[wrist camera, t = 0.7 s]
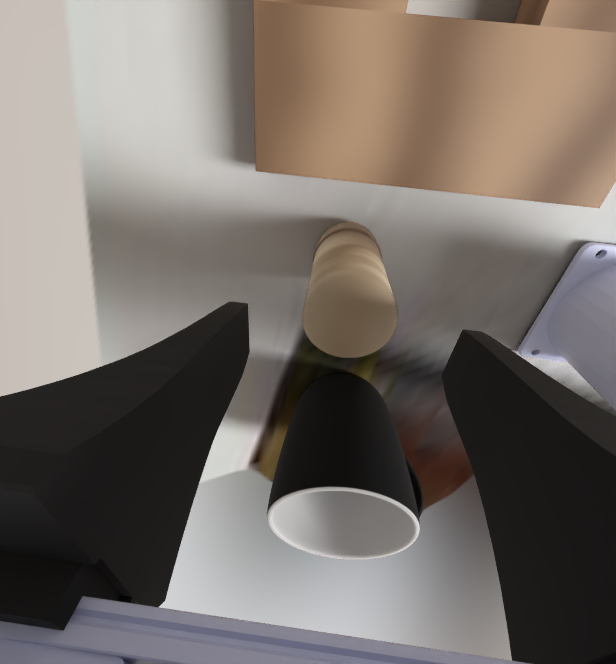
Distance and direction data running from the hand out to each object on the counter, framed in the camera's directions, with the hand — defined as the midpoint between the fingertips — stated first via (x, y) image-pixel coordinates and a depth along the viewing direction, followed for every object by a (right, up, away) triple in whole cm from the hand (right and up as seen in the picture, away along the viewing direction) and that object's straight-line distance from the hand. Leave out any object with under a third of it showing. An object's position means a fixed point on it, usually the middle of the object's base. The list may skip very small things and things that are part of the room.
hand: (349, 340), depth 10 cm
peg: (+1, +6, +8) cm, 10 cm away
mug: (+3, -6, +16) cm, 17 cm away
